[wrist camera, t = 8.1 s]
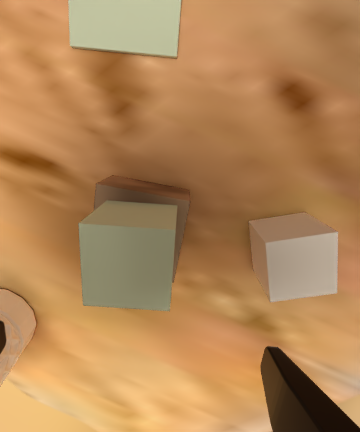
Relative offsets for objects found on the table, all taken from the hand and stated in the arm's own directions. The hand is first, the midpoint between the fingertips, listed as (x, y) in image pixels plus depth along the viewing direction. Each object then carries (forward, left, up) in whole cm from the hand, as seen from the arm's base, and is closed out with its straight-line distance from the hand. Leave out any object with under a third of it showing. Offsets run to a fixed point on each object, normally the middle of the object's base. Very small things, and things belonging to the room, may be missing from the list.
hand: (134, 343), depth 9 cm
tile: (+3, -15, -12) cm, 20 cm away
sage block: (+1, 0, -9) cm, 9 cm away
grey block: (-10, +1, -12) cm, 16 cm away
